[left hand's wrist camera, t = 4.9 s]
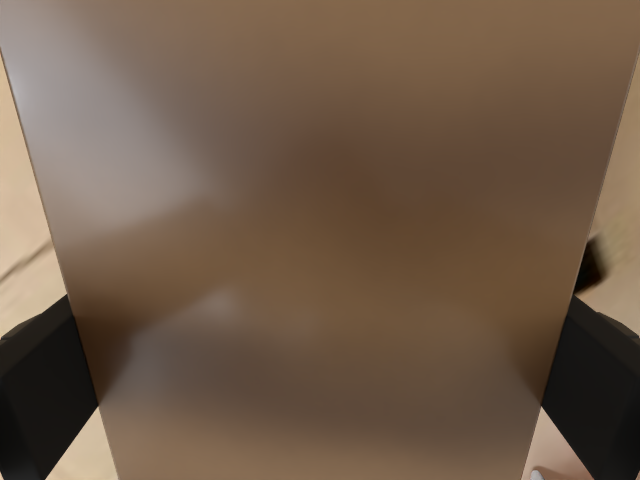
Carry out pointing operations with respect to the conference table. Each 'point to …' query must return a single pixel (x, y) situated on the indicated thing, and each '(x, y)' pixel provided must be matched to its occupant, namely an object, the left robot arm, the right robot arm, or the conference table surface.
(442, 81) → the cabinet
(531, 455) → the conference table surface
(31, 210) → the conference table surface
